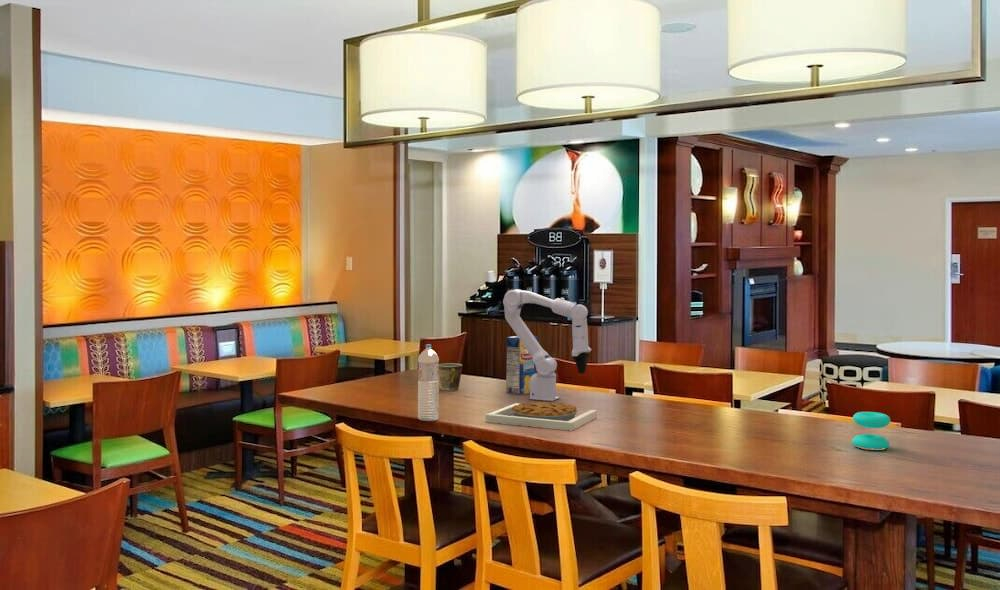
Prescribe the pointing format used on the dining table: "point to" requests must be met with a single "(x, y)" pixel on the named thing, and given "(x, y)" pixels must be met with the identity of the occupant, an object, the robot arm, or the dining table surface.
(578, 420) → the serving corral
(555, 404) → the pie
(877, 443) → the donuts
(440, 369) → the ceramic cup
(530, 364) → the beverage box
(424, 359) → the water bottle
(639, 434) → the dining table surface
